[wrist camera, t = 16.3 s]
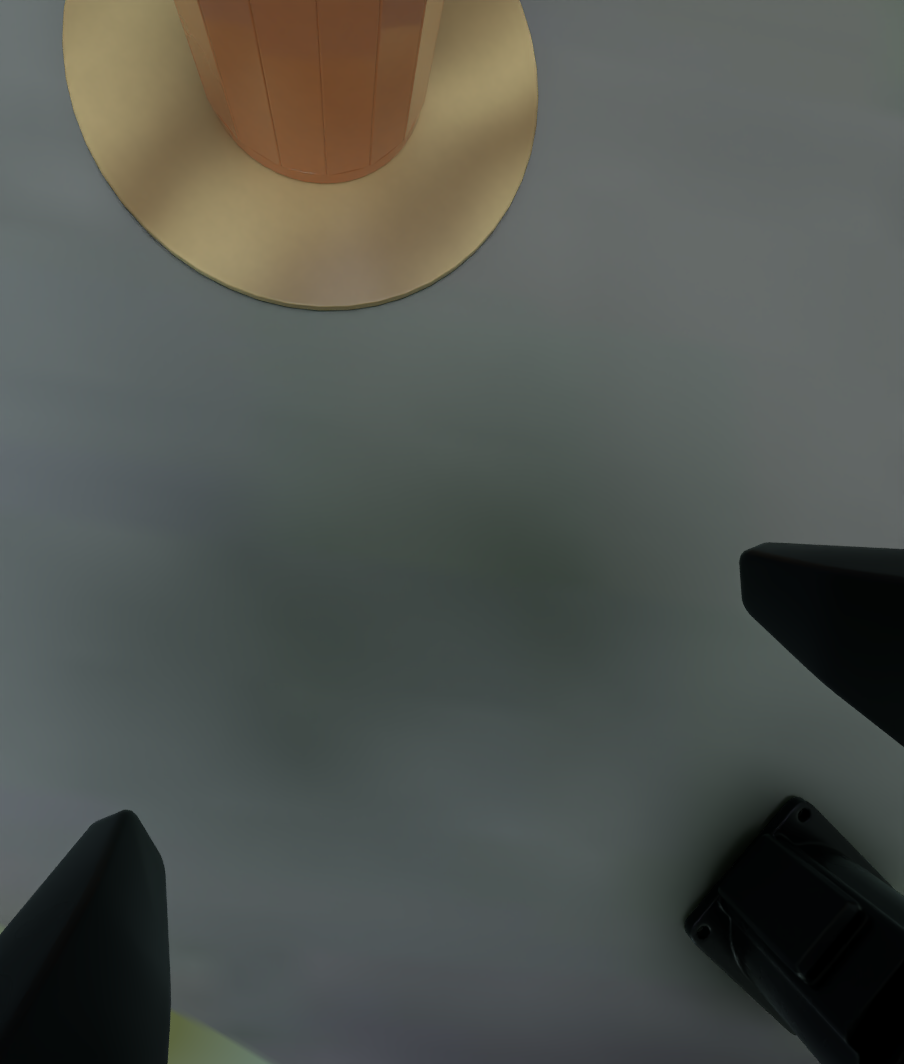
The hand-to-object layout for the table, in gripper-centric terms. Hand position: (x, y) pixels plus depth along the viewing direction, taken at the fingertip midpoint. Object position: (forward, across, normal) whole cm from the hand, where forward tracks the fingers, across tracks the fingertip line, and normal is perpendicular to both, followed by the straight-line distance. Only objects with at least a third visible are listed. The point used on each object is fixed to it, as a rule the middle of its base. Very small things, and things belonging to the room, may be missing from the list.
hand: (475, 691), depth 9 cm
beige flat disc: (+16, -4, -11) cm, 20 cm away
